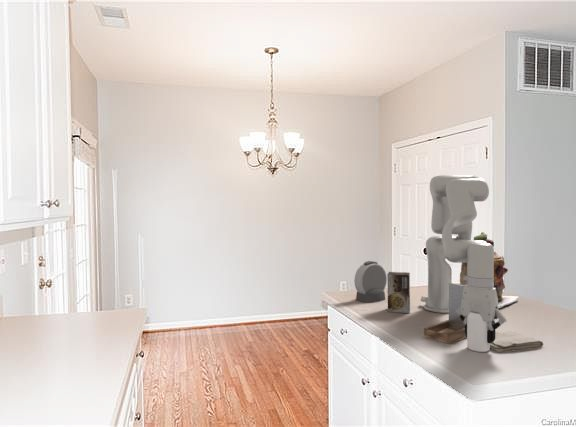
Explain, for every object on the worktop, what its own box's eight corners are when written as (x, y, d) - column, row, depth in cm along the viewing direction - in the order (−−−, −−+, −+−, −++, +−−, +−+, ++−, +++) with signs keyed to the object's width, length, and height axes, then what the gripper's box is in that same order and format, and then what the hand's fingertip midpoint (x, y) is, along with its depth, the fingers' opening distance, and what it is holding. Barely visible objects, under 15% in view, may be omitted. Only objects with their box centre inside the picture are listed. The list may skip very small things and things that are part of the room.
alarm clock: (376, 295, 205) (376, 258, 205) (390, 299, 196) (391, 261, 196) (350, 299, 197) (350, 261, 196) (364, 303, 188) (364, 263, 188)
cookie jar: (444, 300, 194) (444, 232, 193) (467, 292, 211) (468, 230, 210) (499, 310, 176) (500, 235, 175) (520, 301, 192) (521, 232, 191)
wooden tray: (423, 336, 142) (423, 327, 142) (449, 326, 153) (449, 318, 152) (450, 344, 134) (450, 335, 134) (476, 333, 145) (476, 325, 145)
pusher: (448, 327, 149) (448, 283, 149) (450, 327, 150) (450, 283, 149) (466, 332, 144) (467, 286, 143) (468, 331, 144) (468, 286, 144)
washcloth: (470, 342, 137) (470, 333, 137) (513, 337, 143) (513, 328, 143) (498, 354, 126) (498, 344, 126) (543, 348, 131) (544, 339, 131)
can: (492, 353, 126) (492, 314, 125) (469, 352, 127) (469, 313, 127) (486, 346, 132) (486, 308, 132) (465, 344, 133) (465, 307, 133)
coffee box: (410, 309, 177) (410, 272, 177) (409, 313, 171) (409, 274, 171) (388, 308, 180) (388, 271, 180) (387, 311, 174) (387, 273, 174)
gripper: (448, 279, 134) (447, 335, 134) (503, 288, 120) (502, 349, 121) (460, 277, 138) (459, 330, 139) (514, 285, 125) (513, 344, 125)
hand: (479, 338), depth 130 cm, fingers closed on can, 6 cm apart
